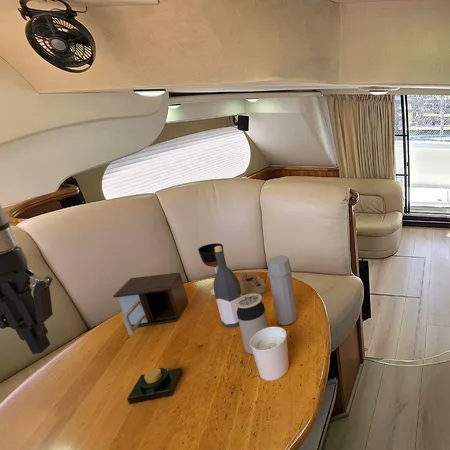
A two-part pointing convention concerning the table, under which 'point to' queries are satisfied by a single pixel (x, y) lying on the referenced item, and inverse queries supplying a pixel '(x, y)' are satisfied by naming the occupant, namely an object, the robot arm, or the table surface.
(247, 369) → the table surface
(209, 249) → the wineglass
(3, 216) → the robot arm
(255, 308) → the travel mug
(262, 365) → the candle holder
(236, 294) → the wine bottle
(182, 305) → the cabinet
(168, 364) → the table surface
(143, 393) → the button block
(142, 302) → the glass door
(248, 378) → the table surface
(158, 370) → the button
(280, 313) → the water bottle
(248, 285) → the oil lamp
